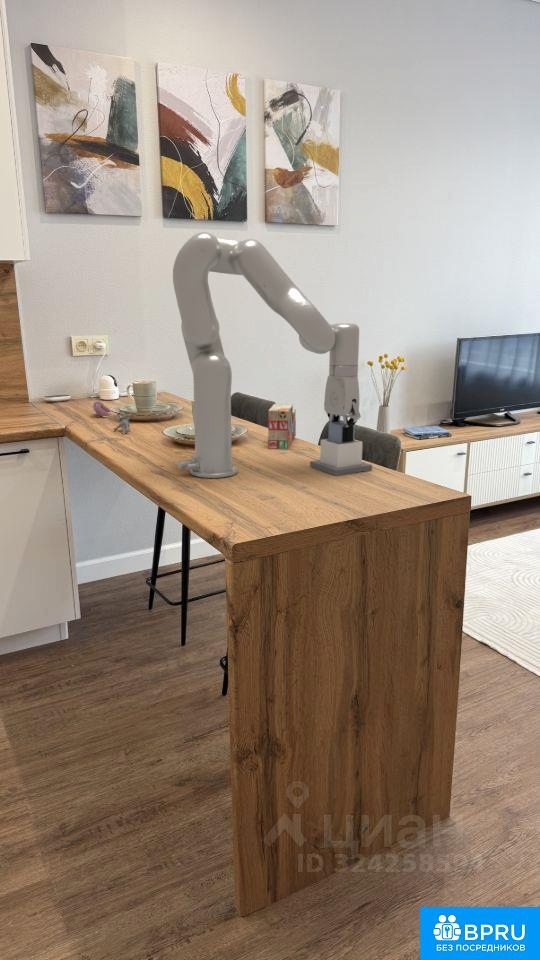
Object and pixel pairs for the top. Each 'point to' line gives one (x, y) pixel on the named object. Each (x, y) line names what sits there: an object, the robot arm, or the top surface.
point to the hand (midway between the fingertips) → (341, 439)
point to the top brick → (338, 432)
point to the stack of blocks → (281, 426)
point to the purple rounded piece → (101, 409)
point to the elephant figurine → (124, 423)
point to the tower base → (340, 470)
